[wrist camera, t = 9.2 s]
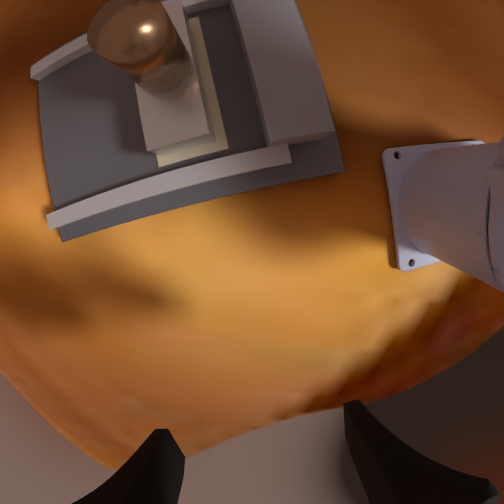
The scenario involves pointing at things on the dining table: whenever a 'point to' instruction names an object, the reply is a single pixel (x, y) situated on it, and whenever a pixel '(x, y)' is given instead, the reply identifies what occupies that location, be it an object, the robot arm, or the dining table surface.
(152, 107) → the press handle
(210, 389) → the dining table surface
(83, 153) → the base
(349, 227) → the dining table surface
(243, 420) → the dining table surface
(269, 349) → the dining table surface
